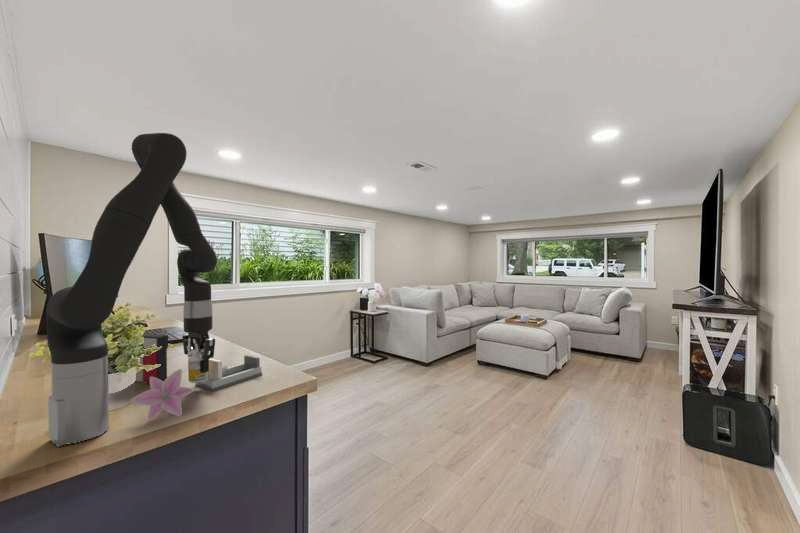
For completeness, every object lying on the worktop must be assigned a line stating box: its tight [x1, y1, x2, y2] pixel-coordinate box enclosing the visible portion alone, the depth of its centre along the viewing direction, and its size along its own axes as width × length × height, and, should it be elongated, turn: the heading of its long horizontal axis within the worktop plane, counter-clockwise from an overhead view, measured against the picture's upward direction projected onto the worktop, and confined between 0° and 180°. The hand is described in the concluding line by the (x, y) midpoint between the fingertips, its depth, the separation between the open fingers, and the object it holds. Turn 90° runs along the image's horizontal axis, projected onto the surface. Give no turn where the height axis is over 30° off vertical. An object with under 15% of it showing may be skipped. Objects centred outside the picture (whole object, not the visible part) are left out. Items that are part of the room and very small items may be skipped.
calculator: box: [136, 333, 169, 384], centre depth 110 cm, size 11×4×15 cm, turn 76°
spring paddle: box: [208, 358, 228, 381], centre depth 108 cm, size 4×6×7 cm, turn 59°
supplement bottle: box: [187, 348, 209, 384], centre depth 103 cm, size 5×5×10 cm
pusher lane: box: [194, 354, 263, 392], centre depth 111 cm, size 17×10×6 cm, turn 149°
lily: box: [129, 368, 195, 421], centre depth 88 cm, size 12×12×10 cm
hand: (198, 370), depth 103 cm, fingers closed on supplement bottle, 5 cm apart
